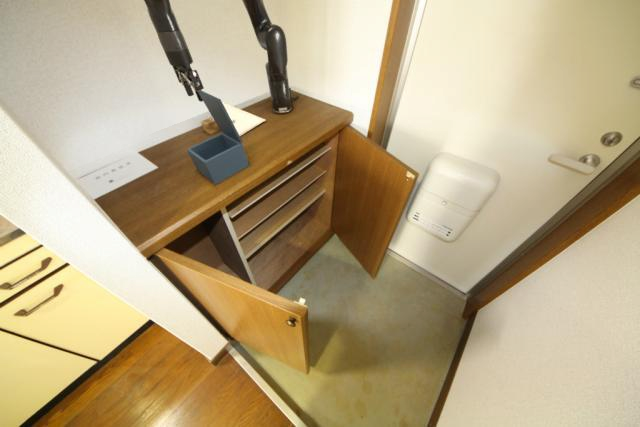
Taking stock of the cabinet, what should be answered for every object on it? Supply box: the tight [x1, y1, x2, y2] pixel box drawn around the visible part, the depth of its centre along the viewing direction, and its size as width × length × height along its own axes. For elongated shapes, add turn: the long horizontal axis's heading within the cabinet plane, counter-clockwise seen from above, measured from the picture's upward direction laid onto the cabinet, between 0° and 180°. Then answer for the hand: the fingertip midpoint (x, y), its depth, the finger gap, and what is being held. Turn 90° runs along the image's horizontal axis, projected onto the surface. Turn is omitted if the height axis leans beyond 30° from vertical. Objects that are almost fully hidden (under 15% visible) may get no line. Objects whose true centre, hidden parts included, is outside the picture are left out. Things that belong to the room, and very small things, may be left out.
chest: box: [185, 132, 250, 186], centre depth 77 cm, size 14×12×9 cm
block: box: [200, 117, 221, 135], centre depth 97 cm, size 5×5×5 cm
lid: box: [198, 90, 243, 144], centre depth 70 cm, size 15×12×1 cm
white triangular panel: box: [222, 101, 267, 137], centre depth 97 cm, size 15×6×20 cm
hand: (196, 98), depth 86 cm, fingers open, 8 cm apart
